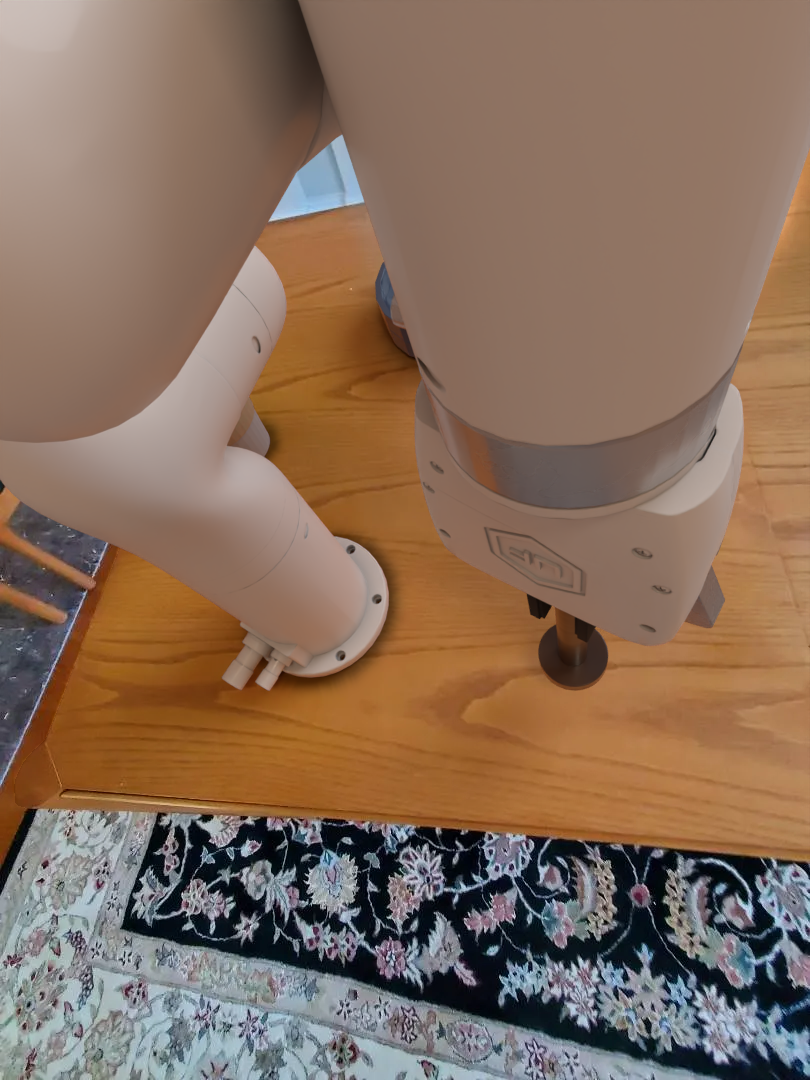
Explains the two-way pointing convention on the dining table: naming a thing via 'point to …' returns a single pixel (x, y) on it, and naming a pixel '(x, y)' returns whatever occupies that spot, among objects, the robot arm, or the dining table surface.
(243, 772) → the dining table surface
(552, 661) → the muddler
